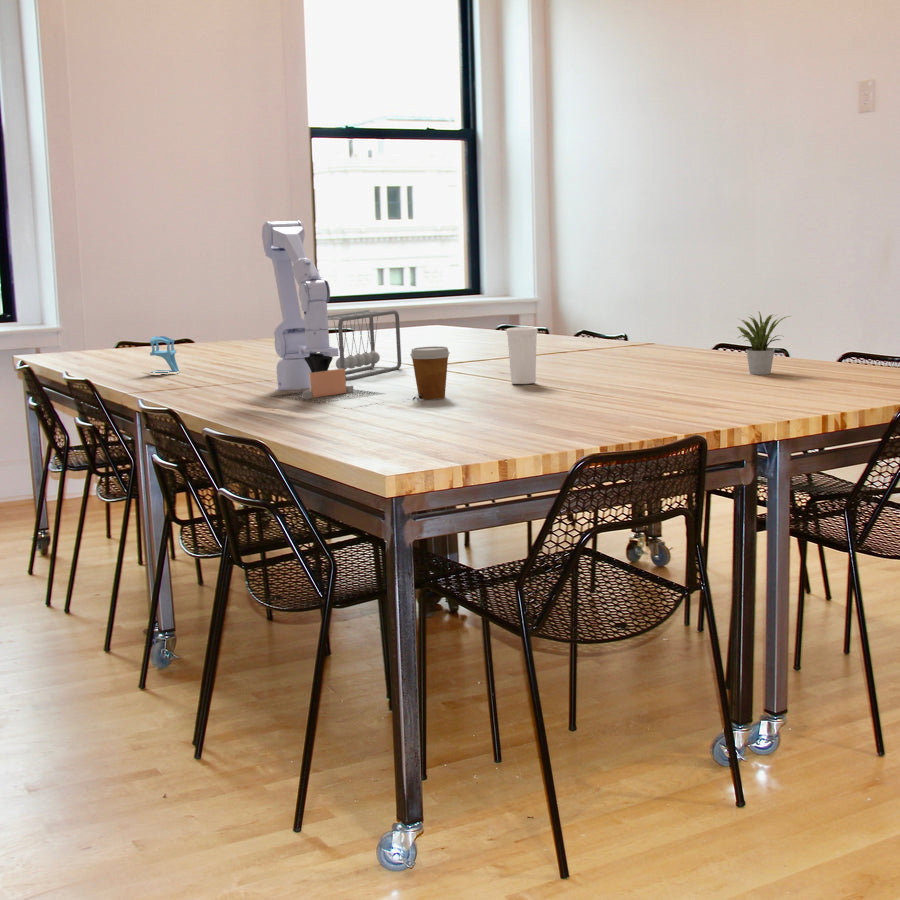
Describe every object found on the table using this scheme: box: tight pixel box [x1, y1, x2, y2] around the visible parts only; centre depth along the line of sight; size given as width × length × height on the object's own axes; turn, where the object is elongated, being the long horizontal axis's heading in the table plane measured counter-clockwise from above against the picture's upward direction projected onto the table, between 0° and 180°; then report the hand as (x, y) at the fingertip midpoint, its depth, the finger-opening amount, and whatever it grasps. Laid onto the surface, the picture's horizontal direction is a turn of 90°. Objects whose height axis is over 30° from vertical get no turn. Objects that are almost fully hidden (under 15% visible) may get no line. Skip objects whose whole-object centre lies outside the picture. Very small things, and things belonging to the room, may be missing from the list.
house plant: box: [736, 311, 791, 376], centre depth 285 cm, size 14×14×16 cm
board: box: [270, 384, 386, 404], centre depth 273 cm, size 22×20×3 cm
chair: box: [149, 335, 180, 373], centre depth 343 cm, size 8×8×12 cm
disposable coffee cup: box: [409, 345, 450, 401], centre depth 266 cm, size 10×10×12 cm
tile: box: [309, 368, 347, 399], centre depth 272 cm, size 1×10×6 cm, turn 131°
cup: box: [506, 326, 539, 385], centre depth 284 cm, size 8×8×14 cm
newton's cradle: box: [315, 309, 402, 382], centre depth 320 cm, size 30×10×18 cm, turn 150°
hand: (320, 384), depth 274 cm, fingers closed
